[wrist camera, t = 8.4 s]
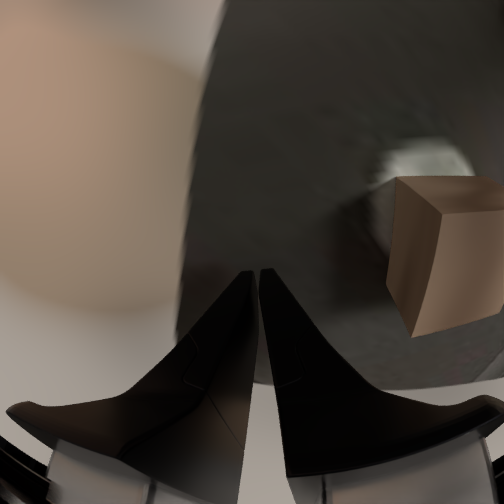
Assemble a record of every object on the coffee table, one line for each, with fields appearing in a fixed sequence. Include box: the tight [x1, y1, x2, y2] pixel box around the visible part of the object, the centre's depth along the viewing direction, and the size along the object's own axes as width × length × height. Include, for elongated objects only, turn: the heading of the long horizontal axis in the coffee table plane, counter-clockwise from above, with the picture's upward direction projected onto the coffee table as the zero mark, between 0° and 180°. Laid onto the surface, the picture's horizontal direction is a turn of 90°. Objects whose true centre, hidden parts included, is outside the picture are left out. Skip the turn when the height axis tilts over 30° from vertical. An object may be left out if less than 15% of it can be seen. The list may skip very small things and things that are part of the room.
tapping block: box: [386, 176, 504, 338], centre depth 9 cm, size 5×5×4 cm
